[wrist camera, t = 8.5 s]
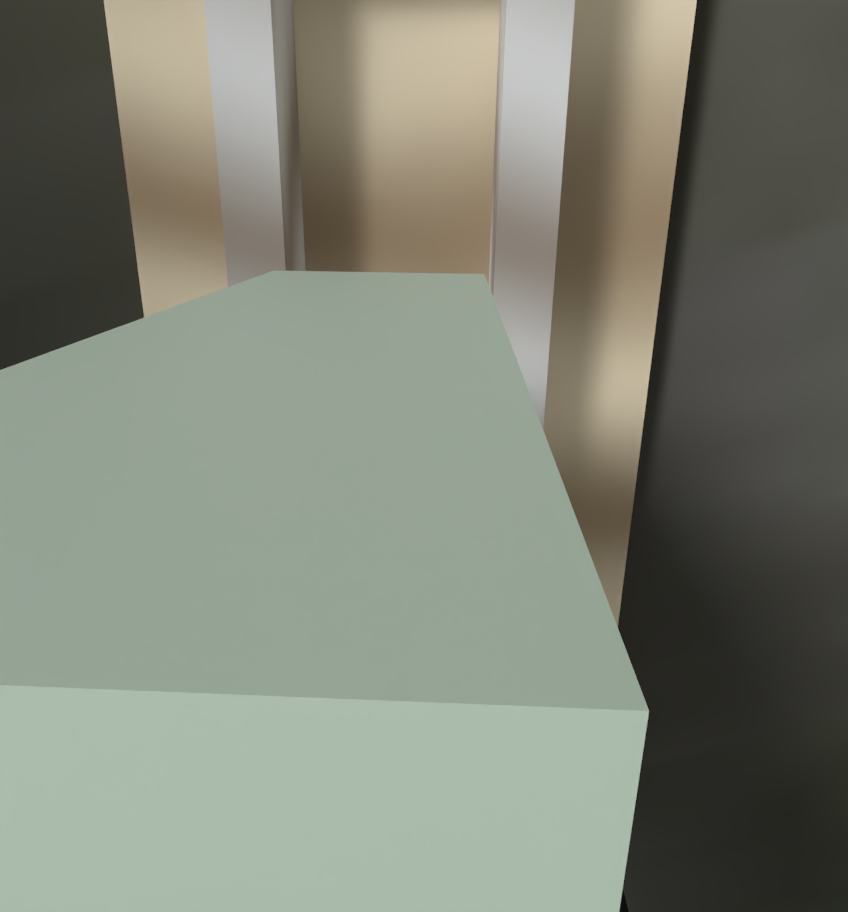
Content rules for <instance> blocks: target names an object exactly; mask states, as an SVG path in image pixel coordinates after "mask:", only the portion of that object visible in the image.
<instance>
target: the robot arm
mask: <svg viewBox="0 0 848 912" xmlns="http://www.w3.org/2000/svg"><path fill="white" fill-rule="evenodd" d="M619 912H628V908H627V904H626V900H625V895H624V891H623V890H622V897H621V903H620V910H619Z"/></svg>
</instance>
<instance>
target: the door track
mask: <svg viewBox="0 0 848 912" xmlns="http://www.w3.org/2000/svg"><path fill="white" fill-rule="evenodd" d="M696 3H697V0H104V7H105V15H106V23H107V30H108V38H109V46H110V54H111V62H112V70H113V77H114V85H115V93H116V101H117V109H118V117H119V125H120V132H121V140H122V148H123V156H124V164H125V172H126V179H127V187H128V195H129V203H130V211H131V219H132V227H133V234H134V242H135V250H136V258H137V266H138V274H139V281H140V289H141V297H142V305H143V313H144V318H145V317H147V316H150V315H153V314H155V313H158V312H161V311H164V310H166V309H169V308H172V307H175V306H177V305H180V304H183V303H186V302H188V301H191V300H194V299H197V298H199V297H202V296H205V295H208V294H210V293H213V292H216V291H219V290H221V289H224V288H227V287H230V286H232V285H235V284H238V283H241V282H243V281H246V280H249V279H251V278H254V277H257V276H260V275H262V274H265V273H268V272H271V271H332V272H394V273H456V274H485V277H486V280H487V282H488V285H489V288H490V290H491V293H492V296H493V298H494V301H495V303H496V306H497V309H498V311H499V314H500V317H501V319H502V322H503V325H504V327H505V330H506V333H507V335H508V338H509V341H510V343H511V346H512V349H513V351H514V354H515V357H516V359H517V362H518V364H519V367H520V370H521V372H522V375H523V378H524V380H525V383H526V386H527V388H528V391H529V394H530V396H531V399H532V402H533V404H534V407H535V410H536V412H537V415H538V418H539V420H540V423H541V426H542V428H543V431H544V433H545V436H546V439H547V441H548V444H549V447H550V449H551V452H552V455H553V457H554V460H555V463H556V465H557V468H558V471H559V473H560V476H561V479H562V481H563V484H564V487H565V489H566V492H567V494H568V497H569V500H570V502H571V505H572V508H573V510H574V513H575V516H576V518H577V521H578V524H579V526H580V529H581V532H582V534H583V537H584V540H585V542H586V545H587V548H588V550H589V553H590V556H591V558H592V561H593V563H594V566H595V569H596V571H597V574H598V577H599V579H600V582H601V585H602V587H603V590H604V593H605V595H606V598H607V601H608V603H609V606H610V609H611V611H612V614H613V617H614V619H615V622H616V624H617V627H618V621H619V613H620V605H621V597H622V589H623V581H624V573H625V566H626V558H627V550H628V542H629V534H630V526H631V518H632V510H633V502H634V494H635V486H636V478H637V470H638V463H639V455H640V447H641V439H642V431H643V423H644V415H645V407H646V399H647V391H648V383H649V375H650V368H651V360H652V352H653V344H654V336H655V328H656V320H657V312H658V304H659V296H660V288H661V280H662V273H663V265H664V257H665V249H666V241H667V233H668V225H669V217H670V209H671V201H672V193H673V185H674V177H675V170H676V162H677V154H678V146H679V138H680V130H681V122H682V114H683V106H684V98H685V90H686V82H687V75H688V67H689V59H690V51H691V43H692V35H693V27H694V19H695V11H696Z"/></svg>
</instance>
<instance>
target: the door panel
mask: <svg viewBox="0 0 848 912" xmlns="http://www.w3.org/2000/svg"><path fill="white" fill-rule="evenodd" d="M648 715H649V709H648V707H647V704H646V701H645V699H644V696H643V693H642V691H641V688H640V686H639V683H638V680H637V678H636V675H635V672H634V670H633V667H632V664H631V662H630V659H629V656H628V654H627V651H626V648H625V646H624V643H623V640H622V638H621V635H620V632H619V630H618V627H617V624H616V622H615V619H614V617H613V614H612V611H611V609H610V606H609V603H608V601H607V598H606V595H605V593H604V590H603V587H602V585H601V582H600V579H599V577H598V574H597V571H596V569H595V566H594V563H593V561H592V558H591V556H590V553H589V550H588V548H587V545H586V542H585V540H584V537H583V534H582V532H581V529H580V526H579V524H578V521H577V518H576V516H575V513H574V510H573V508H572V505H571V502H570V500H569V497H568V494H567V492H566V489H565V487H564V484H563V481H562V479H561V476H560V473H559V471H558V468H557V465H556V463H555V460H554V457H553V455H552V452H551V449H550V447H549V444H548V441H547V439H546V436H545V433H544V431H543V428H542V426H541V423H540V420H539V418H538V415H537V412H536V410H535V407H534V404H533V402H532V399H531V396H530V394H529V391H528V388H527V386H526V383H525V380H524V378H523V375H522V372H521V370H520V367H519V364H518V362H517V359H516V357H515V354H514V351H513V349H512V346H511V343H510V341H509V338H508V335H507V333H506V330H505V327H504V325H503V322H502V319H501V317H500V314H499V311H498V309H497V306H496V303H495V301H494V298H493V296H492V293H491V290H490V288H489V285H488V282H487V280H486V277H485V274H456V273H394V272H332V271H271V272H268V273H265V274H262V275H260V276H257V277H254V278H251V279H249V280H246V281H243V282H241V283H238V284H235V285H232V286H230V287H227V288H224V289H221V290H219V291H216V292H213V293H210V294H208V295H205V296H202V297H199V298H197V299H194V300H191V301H188V302H186V303H183V304H180V305H177V306H175V307H172V308H169V309H166V310H164V311H161V312H158V313H155V314H153V315H150V316H147V317H145V318H142V319H139V320H136V321H134V322H131V323H128V324H125V325H123V326H120V327H117V328H114V329H112V330H109V331H106V332H103V333H101V334H98V335H95V336H92V337H90V338H87V339H84V340H81V341H79V342H76V343H73V344H70V345H68V346H65V347H62V348H59V349H57V350H54V351H51V352H48V353H46V354H43V355H40V356H38V357H35V358H32V359H29V360H27V361H24V362H21V363H18V364H16V365H13V366H10V367H7V368H5V369H2V370H0V912H619V910H620V903H621V897H622V890H623V883H624V876H625V870H626V863H627V856H628V850H629V843H630V836H631V829H632V823H633V816H634V809H635V803H636V796H637V789H638V783H639V776H640V769H641V762H642V756H643V749H644V742H645V736H646V729H647V722H648Z"/></svg>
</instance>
